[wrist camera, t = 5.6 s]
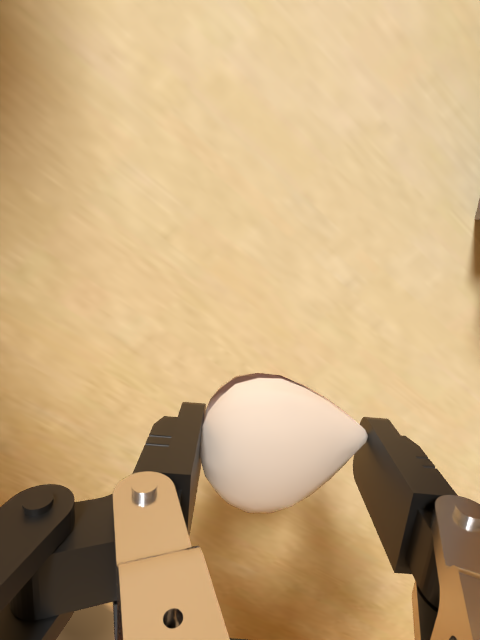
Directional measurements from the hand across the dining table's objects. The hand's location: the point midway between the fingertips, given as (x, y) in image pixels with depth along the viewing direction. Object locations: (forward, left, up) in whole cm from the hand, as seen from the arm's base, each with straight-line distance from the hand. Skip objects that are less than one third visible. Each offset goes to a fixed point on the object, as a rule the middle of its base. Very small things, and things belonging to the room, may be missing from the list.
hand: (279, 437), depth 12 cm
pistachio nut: (0, 0, -1) cm, 1 cm away
